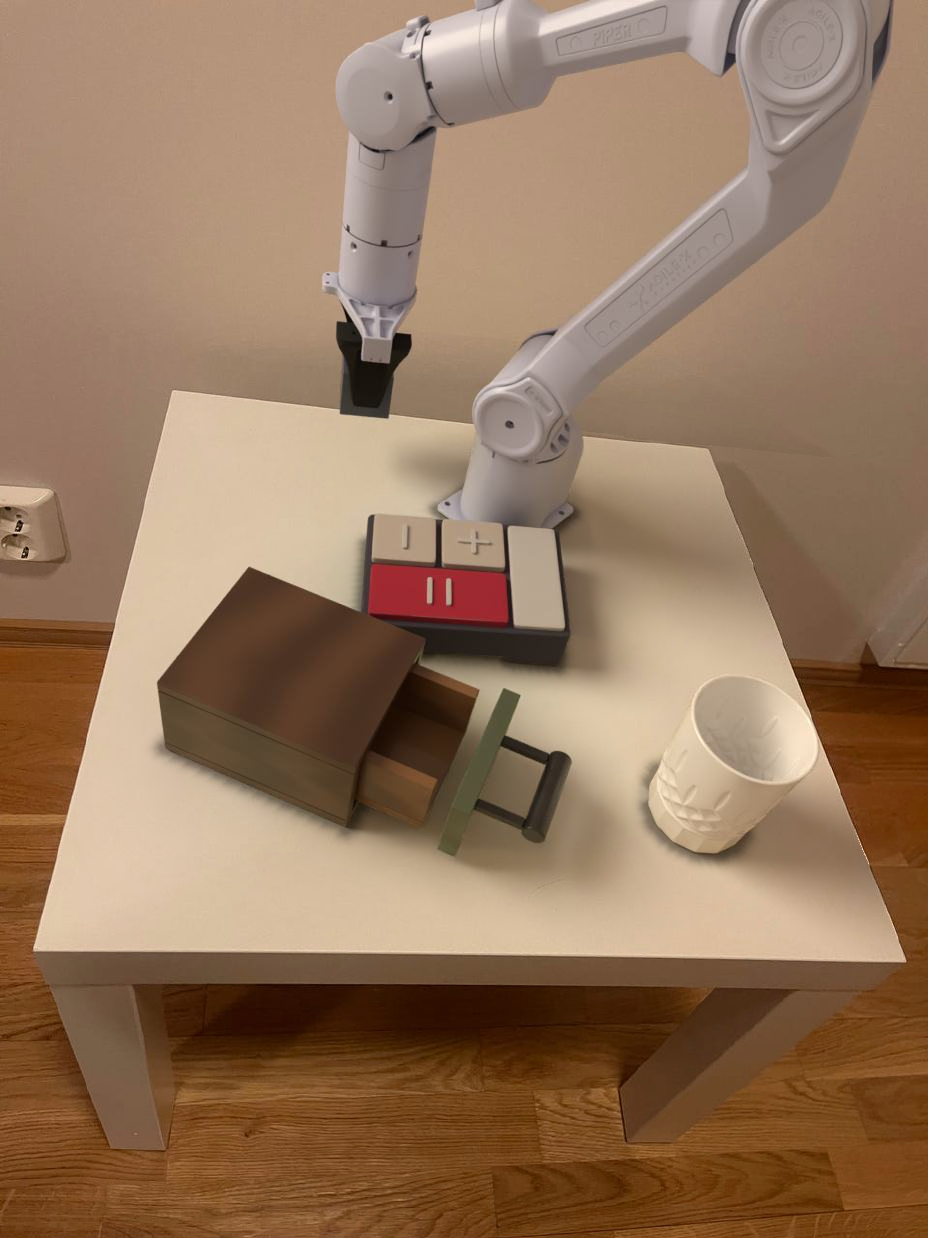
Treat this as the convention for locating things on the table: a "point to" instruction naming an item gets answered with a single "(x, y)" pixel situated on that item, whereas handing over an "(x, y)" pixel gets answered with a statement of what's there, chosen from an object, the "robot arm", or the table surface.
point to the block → (350, 409)
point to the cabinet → (286, 692)
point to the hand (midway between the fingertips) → (365, 387)
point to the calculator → (469, 586)
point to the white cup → (731, 762)
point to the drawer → (450, 759)
